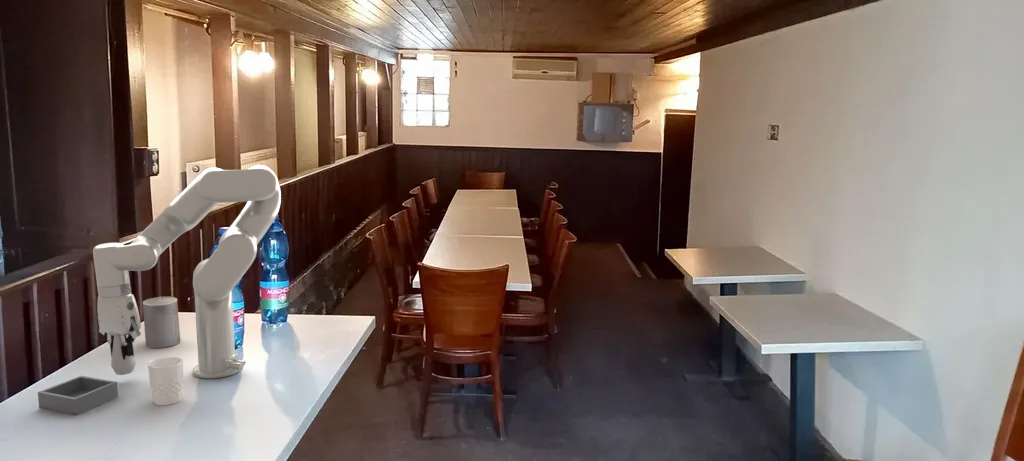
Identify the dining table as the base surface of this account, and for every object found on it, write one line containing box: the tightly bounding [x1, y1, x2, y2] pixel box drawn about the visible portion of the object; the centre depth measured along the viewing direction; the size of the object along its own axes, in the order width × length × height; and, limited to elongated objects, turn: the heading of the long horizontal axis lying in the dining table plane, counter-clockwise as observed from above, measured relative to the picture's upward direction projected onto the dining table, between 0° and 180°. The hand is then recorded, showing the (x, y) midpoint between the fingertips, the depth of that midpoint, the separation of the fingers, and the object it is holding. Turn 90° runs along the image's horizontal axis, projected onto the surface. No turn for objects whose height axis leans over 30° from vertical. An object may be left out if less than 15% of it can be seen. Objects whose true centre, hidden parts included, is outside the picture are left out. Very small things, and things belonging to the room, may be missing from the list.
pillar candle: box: [142, 296, 181, 349], centre depth 227 cm, size 10×10×15 cm
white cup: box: [147, 356, 184, 406], centre depth 185 cm, size 8×8×10 cm
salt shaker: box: [110, 332, 137, 376], centre depth 196 cm, size 6×6×13 cm
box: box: [37, 375, 119, 416], centre depth 183 cm, size 12×12×4 cm
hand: (122, 357), depth 196 cm, fingers closed on salt shaker, 3 cm apart
